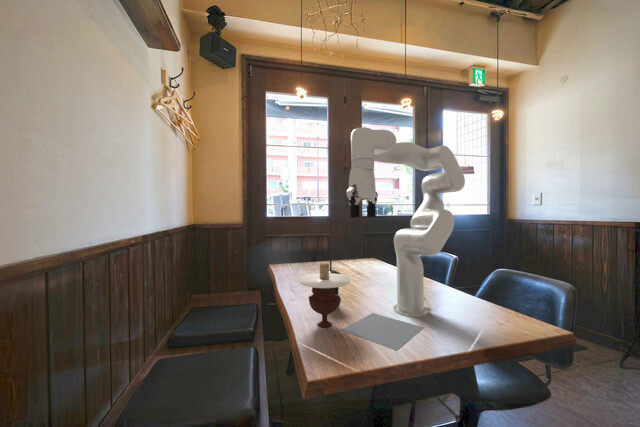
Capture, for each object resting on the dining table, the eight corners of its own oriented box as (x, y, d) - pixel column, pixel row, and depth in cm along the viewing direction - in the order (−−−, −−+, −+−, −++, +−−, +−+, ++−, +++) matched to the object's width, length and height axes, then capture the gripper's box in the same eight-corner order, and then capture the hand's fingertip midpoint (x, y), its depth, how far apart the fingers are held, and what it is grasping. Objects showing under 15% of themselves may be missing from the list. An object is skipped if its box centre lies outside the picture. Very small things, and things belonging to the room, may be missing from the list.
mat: (372, 314, 96) (372, 312, 96) (424, 329, 83) (424, 327, 83) (341, 331, 82) (341, 329, 82) (396, 352, 69) (396, 350, 69)
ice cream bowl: (339, 334, 80) (338, 286, 80) (304, 331, 82) (304, 284, 82) (343, 320, 90) (342, 277, 90) (312, 318, 92) (311, 276, 92)
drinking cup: (322, 303, 108) (322, 255, 108) (340, 304, 107) (340, 256, 107) (320, 310, 100) (320, 259, 101) (340, 310, 100) (339, 259, 100)
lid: (322, 273, 98) (322, 257, 98) (360, 280, 87) (359, 263, 87) (288, 281, 86) (288, 264, 86) (327, 291, 74) (326, 271, 74)
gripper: (367, 170, 95) (368, 217, 95) (337, 164, 83) (338, 217, 82) (385, 167, 90) (386, 216, 90) (357, 160, 77) (358, 217, 77)
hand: (363, 217), depth 86 cm, fingers open, 9 cm apart
